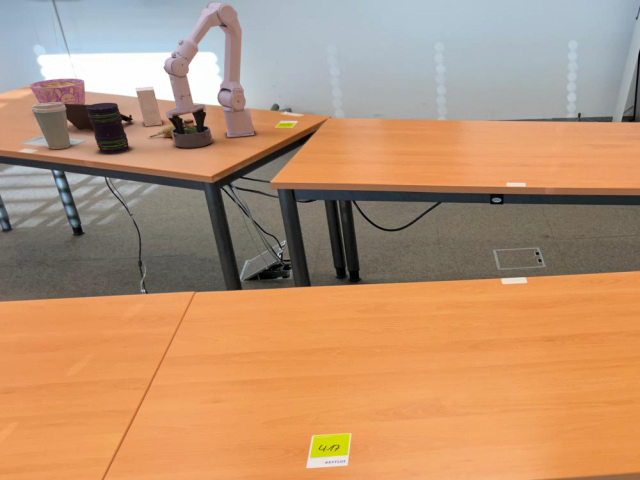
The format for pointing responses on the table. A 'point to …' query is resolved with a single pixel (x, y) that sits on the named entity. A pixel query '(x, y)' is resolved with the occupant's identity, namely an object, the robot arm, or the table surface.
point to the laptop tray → (83, 116)
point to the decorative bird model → (166, 131)
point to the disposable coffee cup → (53, 123)
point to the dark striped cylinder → (108, 128)
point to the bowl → (192, 138)
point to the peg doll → (189, 127)
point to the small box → (148, 106)
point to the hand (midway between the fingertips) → (191, 134)
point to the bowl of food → (59, 91)
